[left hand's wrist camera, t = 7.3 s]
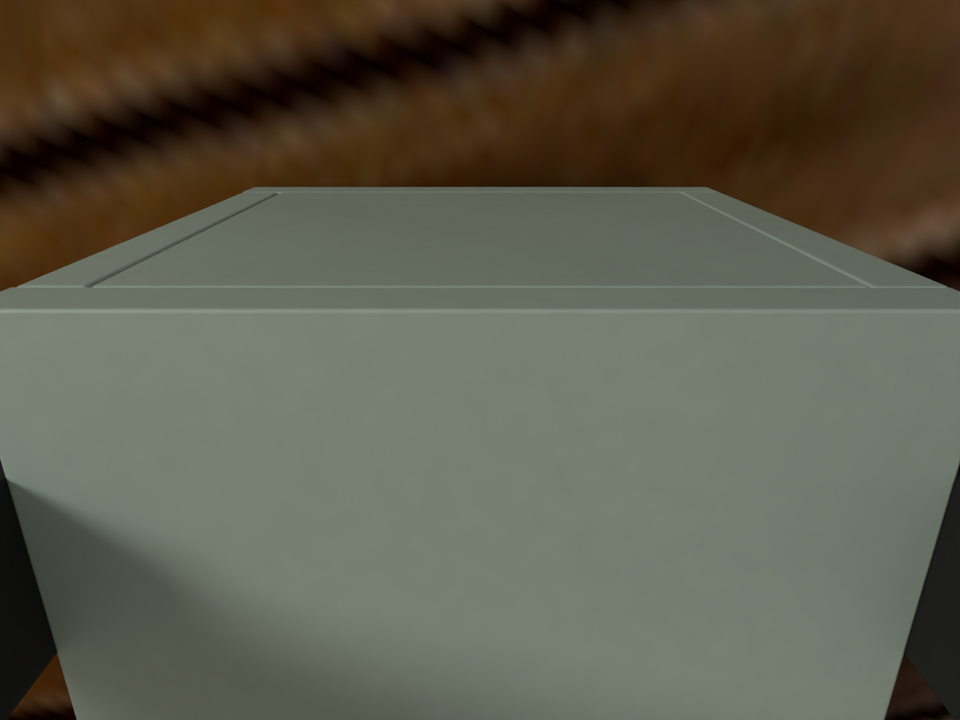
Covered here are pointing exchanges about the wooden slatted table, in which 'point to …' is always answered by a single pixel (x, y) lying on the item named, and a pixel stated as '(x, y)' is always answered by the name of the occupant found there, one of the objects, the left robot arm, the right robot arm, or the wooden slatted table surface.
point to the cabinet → (480, 459)
